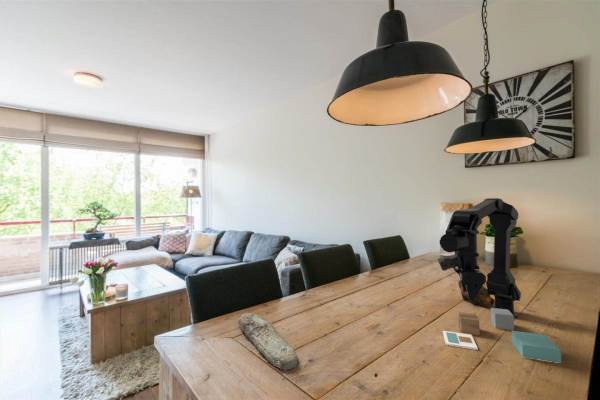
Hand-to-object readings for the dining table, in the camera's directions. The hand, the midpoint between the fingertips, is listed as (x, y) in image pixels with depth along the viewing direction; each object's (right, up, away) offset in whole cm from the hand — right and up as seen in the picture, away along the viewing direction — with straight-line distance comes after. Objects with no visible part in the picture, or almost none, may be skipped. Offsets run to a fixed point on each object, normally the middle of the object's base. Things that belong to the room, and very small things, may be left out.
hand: (468, 295), depth 87 cm
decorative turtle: (+18, -11, +23) cm, 31 cm away
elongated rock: (-67, -14, -2) cm, 68 cm away
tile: (-6, -12, -6) cm, 15 cm away
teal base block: (+10, -12, -13) cm, 20 cm away
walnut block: (0, -12, 0) cm, 12 cm away
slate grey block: (+13, -11, +2) cm, 17 cm away
